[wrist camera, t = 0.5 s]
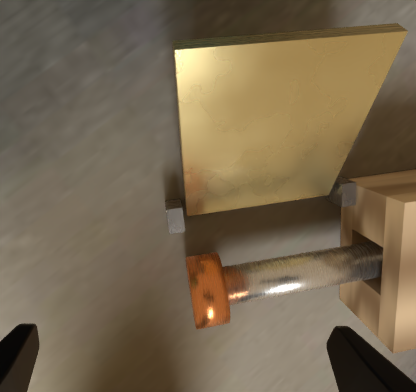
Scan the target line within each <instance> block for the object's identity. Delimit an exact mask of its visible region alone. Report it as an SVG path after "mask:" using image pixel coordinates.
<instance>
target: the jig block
mask: <svg viewBox="0 0 416 392" xmlns="http://www.w3.org/2000/svg"><path fill="white" fill-rule="evenodd" d="M349 180H351V181H354V182H356V205H353V206H347V207H341V246H346V245H352V244H358V243H364V242H369V241H373V242H375V243H377V244H378V245H380V246H382V247H383V264H382V277H377V278H372V279H367V280H361V281H356V282H351V283H345V284H340V300H341V301H342V302H343V303H344V304H345V305H346V306H347V307H348V308H349V309H350V310H351V311H352V312H353V313H354V314H355V315H356V316H357V317H358V318H359V319H360V320H361V321H362V322H363V323H364V324H365V325H366V326H367V327H368V328H369V329H370V330H371V331H372V332H373V333H374V334H375V335H376V336H377V337H378V339H379V340H380V341H381V342H382V343H383V344H384V345H385V346H386V347H387V348H388V349H389V350H390V351H391V352H392V353H397V352H402V351H406V350H411V349H415V348H416V169H414V170H407V171H400V172H393V173H386V174H379V175H372V176H365V177H358V178H351V179H349Z"/></svg>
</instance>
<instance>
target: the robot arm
mask: <svg viewBox="0 0 416 392" xmlns="http://www.w3.org/2000/svg"><path fill="white" fill-rule="evenodd" d="M38 351H39V337H38V330H37V326H36V324H19V325H18V326H16V327H15V328H14V329H13V330H12V331H11V332H10V333H9V334H8V335H7V336H6V337H5V338H3V339H2V340H1V341H0V392H27V390H28V386H29V383H30V379H31V376H32V372H33V369H34V365H35V362H36V358H37V355H38ZM327 352H328V355H329V358H330V362H331V365H332V369H333V372H334V376H335V379H336V383H337V386H338V390H339V392H416V383H414V382H413V381H412V380H411V379H410V378H409V377H407V376H406V375H405V374H404V373H403V372H402V371H400V370H399V369H398V368H397V367H396V366H395V365H393V364H392V363H391V362H390V361H389V360H388V359H386V358H385V357H384V356H383V355H382V354H380V353H379V352H378V351H377V350H376V349H375V348H373V347H372V346H371V345H370V344H369V343H368V342H366V341H365V340H364V339H363V338H362V337H361V336H359V335H358V334H357V333H356V332H355V331H354V330H352V329H351V328H350V327H348V326H336V327H335V328H334V329H333V331H332V333H331V335H330V337H329V339H328V341H327Z"/></svg>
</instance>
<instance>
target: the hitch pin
mask: <svg viewBox="0 0 416 392" xmlns="http://www.w3.org/2000/svg"><path fill="white" fill-rule="evenodd" d="M382 264H383V247H382V246H380V245H378V244H377V243H375V242H373V241H369V242H364V243H358V244H352V245H346V246H340V247H335V248H329V249H323V250H317V251H312V252H306V253H300V254H294V255H288V256H283V257H277V258H271V259H265V260H260V261H254V262H248V263H242V264H236V265H231V266H225V267H222V264H221V261H220V258H219V255H218V253H217V252H214V253H208V254H202V255H196V256H190V257H186V267H187V274H188V282H189V289H190V295H191V302H192V308H193V314H194V320H195V325H196V329H202V328H207V327H212V326H217V325H222V324H227V323H229V322H230V307H229V305H235V304H240V303H245V302H250V301H256V300H261V299H266V298H272V297H277V296H282V295H287V294H293V293H298V292H303V291H308V290H314V289H319V288H324V287H330V286H335V285H340V284H345V283H351V282H356V281H361V280H367V279H372V278H377V277H382Z"/></svg>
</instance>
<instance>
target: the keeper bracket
mask: <svg viewBox="0 0 416 392" xmlns="http://www.w3.org/2000/svg"><path fill="white" fill-rule="evenodd" d="M326 199H327V200H329V201H331V202H333V203H335V204H336V205H338V206H340V207H347V206H353V205H356V182H354V181H351V180H349V179H346V178H343V177H340V176H337V179H336V181H335V183H334V185H333V187H332V189H331V191H330V193H329V195H326ZM165 204H166V213H167V220H168V227H169V233H170V234H174V233H180V232H185V224H184V217H183V209H182V205H181V201H180V199H176V200H169V201H165Z"/></svg>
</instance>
